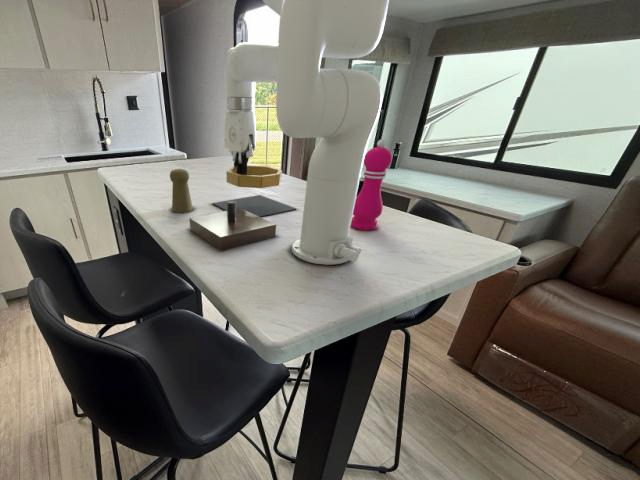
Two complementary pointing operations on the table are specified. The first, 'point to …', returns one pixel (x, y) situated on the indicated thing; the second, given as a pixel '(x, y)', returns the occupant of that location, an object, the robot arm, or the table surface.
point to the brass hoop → (255, 177)
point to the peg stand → (232, 227)
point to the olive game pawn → (180, 191)
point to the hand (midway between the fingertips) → (240, 175)
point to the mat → (257, 205)
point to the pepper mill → (371, 188)
